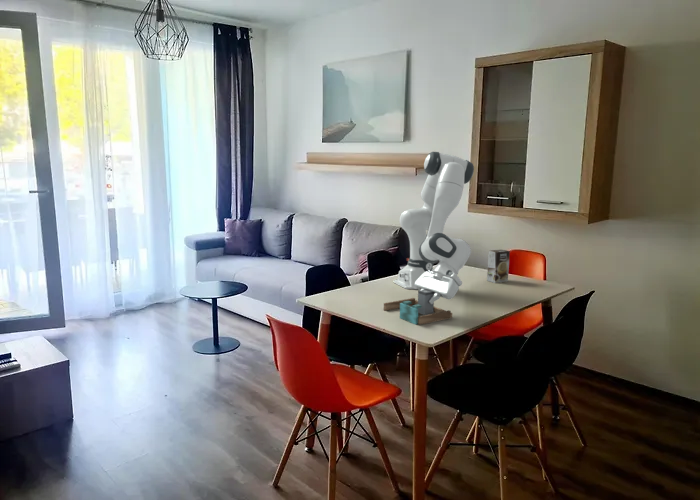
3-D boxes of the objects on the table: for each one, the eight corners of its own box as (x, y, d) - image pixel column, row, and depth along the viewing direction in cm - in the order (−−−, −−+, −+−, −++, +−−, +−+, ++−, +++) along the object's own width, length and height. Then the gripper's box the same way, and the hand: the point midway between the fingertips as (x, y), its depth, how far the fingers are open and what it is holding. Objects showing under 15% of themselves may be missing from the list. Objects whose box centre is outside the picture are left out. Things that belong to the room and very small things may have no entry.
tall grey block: (417, 312, 208) (418, 290, 206) (426, 310, 210) (426, 289, 208) (424, 315, 204) (425, 293, 202) (433, 313, 206) (434, 291, 205)
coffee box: (495, 283, 266) (496, 252, 263) (486, 280, 271) (488, 250, 268) (508, 281, 270) (510, 250, 267) (499, 278, 275) (501, 248, 273)
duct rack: (381, 310, 217) (382, 294, 215) (415, 304, 226) (415, 289, 225) (417, 325, 198) (418, 308, 196) (452, 317, 207) (452, 301, 206)
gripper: (422, 265, 216) (403, 291, 213) (457, 274, 199) (437, 302, 196) (430, 274, 220) (412, 300, 216) (465, 284, 203) (446, 312, 199)
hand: (424, 301), depth 206 cm, fingers closed on tall grey block, 4 cm apart
